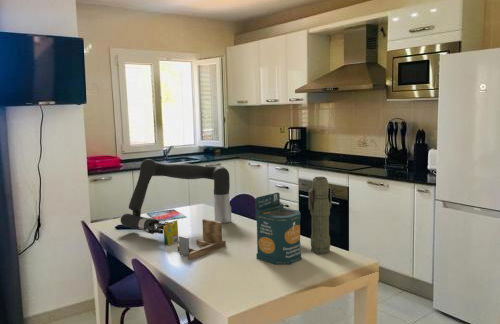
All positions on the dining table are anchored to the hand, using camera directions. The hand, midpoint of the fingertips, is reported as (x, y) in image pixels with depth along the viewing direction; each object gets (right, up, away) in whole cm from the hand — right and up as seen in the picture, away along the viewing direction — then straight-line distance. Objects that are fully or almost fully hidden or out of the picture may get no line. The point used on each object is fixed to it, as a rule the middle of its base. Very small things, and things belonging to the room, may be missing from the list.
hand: (169, 229), depth 218 cm
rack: (+17, -8, -12) cm, 22 cm away
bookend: (+11, -9, -18) cm, 23 cm away
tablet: (-13, -1, +59) cm, 60 cm away
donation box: (+56, -9, -25) cm, 62 cm away
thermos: (+74, -7, -17) cm, 77 cm away
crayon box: (+1, -7, 0) cm, 7 cm away
